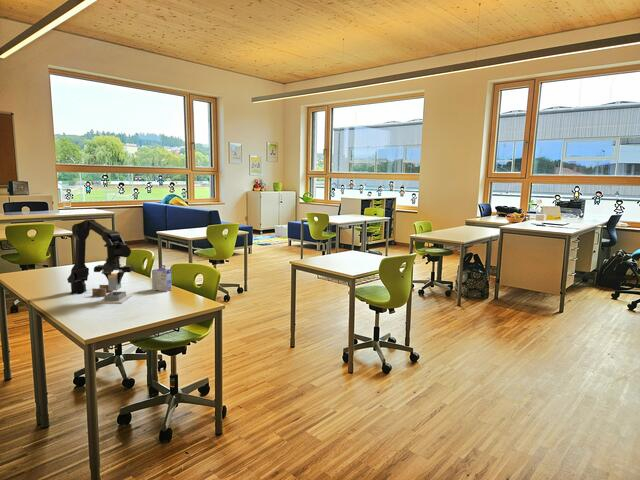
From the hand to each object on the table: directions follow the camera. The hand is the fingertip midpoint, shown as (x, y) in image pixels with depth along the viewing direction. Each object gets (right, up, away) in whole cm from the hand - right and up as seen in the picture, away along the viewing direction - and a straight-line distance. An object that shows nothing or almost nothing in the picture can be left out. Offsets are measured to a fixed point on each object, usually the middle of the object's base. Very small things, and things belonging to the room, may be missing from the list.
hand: (114, 284), depth 234 cm
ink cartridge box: (+17, -6, +23) cm, 29 cm away
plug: (0, -2, 0) cm, 2 cm away
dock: (0, -8, +1) cm, 8 cm away
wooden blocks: (-12, -7, +13) cm, 19 cm away
